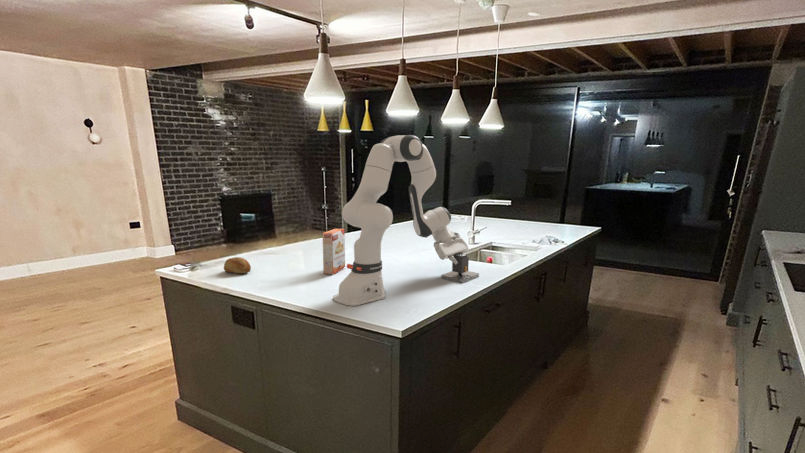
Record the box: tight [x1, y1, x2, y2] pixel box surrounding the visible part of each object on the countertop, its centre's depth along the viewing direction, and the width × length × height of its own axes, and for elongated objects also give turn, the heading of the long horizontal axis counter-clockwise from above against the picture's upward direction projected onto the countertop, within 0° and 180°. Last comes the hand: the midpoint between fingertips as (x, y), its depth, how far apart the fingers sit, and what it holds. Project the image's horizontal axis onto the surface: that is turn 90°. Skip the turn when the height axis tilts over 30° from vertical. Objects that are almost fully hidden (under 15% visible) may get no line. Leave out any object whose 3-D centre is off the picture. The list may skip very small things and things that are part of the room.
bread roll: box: [223, 256, 252, 274], centre depth 199 cm, size 10×15×8 cm, turn 68°
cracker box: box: [322, 228, 346, 275], centre depth 200 cm, size 14×6×21 cm, turn 163°
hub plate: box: [440, 270, 480, 284], centre depth 189 cm, size 14×12×6 cm
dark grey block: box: [451, 253, 470, 273], centre depth 188 cm, size 6×6×8 cm
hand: (461, 262), depth 188 cm, fingers closed on dark grey block, 5 cm apart
